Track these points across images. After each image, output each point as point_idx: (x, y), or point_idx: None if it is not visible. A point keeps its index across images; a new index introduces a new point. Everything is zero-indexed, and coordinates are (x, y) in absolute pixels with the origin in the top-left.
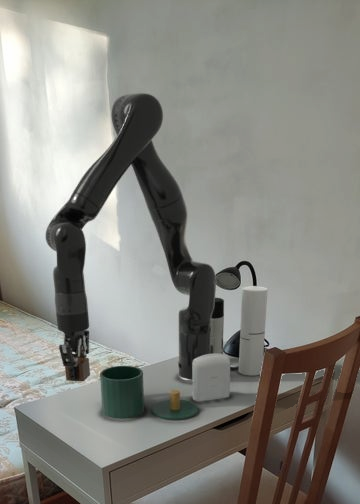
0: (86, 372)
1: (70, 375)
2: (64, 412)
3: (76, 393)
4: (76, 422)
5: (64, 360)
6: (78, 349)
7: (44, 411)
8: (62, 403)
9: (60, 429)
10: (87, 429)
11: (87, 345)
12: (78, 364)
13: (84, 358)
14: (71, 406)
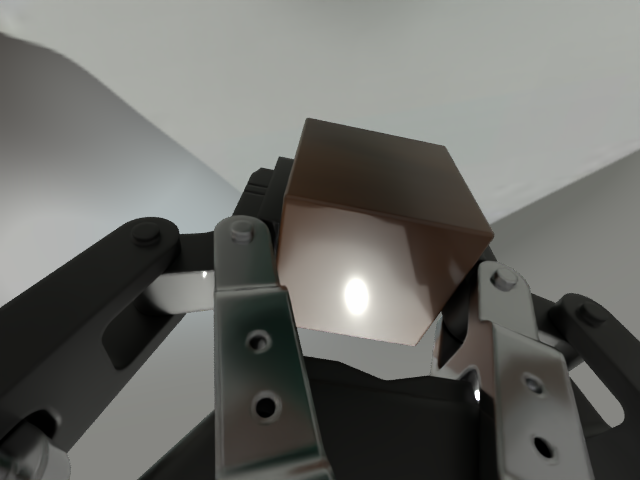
0: (384, 153)
1: None
2: None
3: (200, 159)
4: (512, 109)
5: (581, 405)
6: (577, 442)
7: None
8: None
9: (558, 163)
10: (623, 38)
11: (97, 300)
12: (471, 261)
13: (305, 234)
14: None
